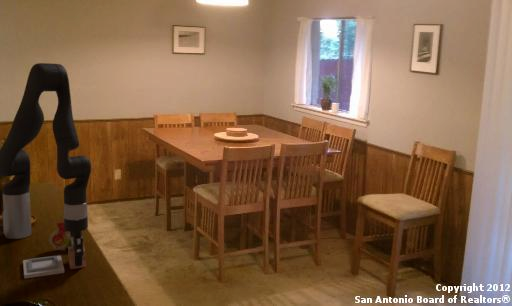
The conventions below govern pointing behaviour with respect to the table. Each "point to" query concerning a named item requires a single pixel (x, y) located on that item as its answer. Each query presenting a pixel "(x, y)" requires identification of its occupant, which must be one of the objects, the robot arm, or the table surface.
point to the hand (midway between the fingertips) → (77, 260)
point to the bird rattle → (60, 238)
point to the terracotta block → (72, 258)
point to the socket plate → (43, 266)
